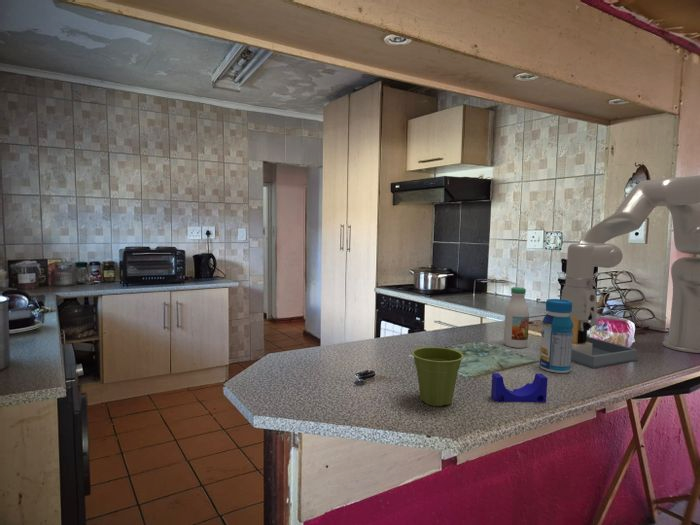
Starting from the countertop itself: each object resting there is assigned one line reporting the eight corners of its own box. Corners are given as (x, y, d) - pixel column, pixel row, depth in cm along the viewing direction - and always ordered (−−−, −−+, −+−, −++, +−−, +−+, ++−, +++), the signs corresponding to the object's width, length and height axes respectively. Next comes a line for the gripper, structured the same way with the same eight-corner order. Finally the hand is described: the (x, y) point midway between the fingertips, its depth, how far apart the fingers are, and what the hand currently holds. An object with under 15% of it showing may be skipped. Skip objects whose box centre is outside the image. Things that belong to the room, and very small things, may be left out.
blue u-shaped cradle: (537, 395, 107) (538, 371, 107) (545, 402, 103) (547, 378, 102) (488, 394, 107) (490, 370, 107) (495, 402, 103) (496, 377, 102)
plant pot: (454, 391, 108) (456, 346, 107) (468, 411, 97) (470, 361, 96) (406, 390, 108) (408, 345, 107) (414, 411, 96) (416, 361, 95)
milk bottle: (501, 346, 150) (504, 288, 148) (505, 341, 156) (508, 285, 155) (526, 349, 146) (529, 290, 144) (528, 344, 153) (531, 287, 151)
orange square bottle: (573, 345, 141) (575, 308, 140) (584, 348, 138) (587, 310, 137) (564, 346, 140) (567, 309, 139) (575, 349, 136) (578, 311, 135)
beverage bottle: (563, 376, 121) (568, 304, 119) (533, 368, 127) (537, 300, 126) (575, 369, 127) (580, 301, 125) (546, 362, 133) (550, 297, 131)
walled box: (584, 345, 153) (585, 331, 152) (636, 360, 136) (638, 345, 136) (542, 351, 144) (543, 336, 144) (593, 368, 128) (594, 351, 128)
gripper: (612, 286, 131) (608, 346, 132) (564, 279, 146) (561, 333, 148) (595, 287, 128) (591, 349, 129) (548, 280, 143) (544, 335, 144)
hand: (575, 340), depth 138 cm, fingers closed on orange square bottle, 3 cm apart
